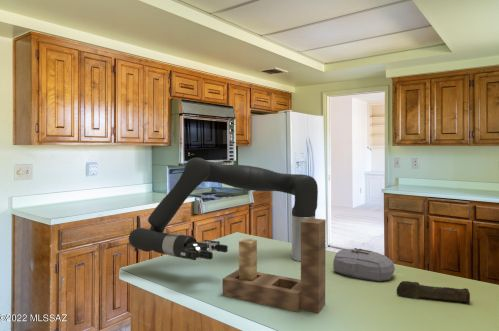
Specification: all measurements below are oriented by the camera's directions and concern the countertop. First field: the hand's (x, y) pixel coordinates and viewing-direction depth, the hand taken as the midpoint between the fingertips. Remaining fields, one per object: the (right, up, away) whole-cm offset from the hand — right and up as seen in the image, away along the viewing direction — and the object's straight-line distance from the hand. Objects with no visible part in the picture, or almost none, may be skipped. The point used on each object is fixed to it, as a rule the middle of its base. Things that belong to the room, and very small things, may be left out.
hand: (219, 252), depth 113 cm
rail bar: (+9, -10, -4) cm, 14 cm away
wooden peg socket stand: (+16, -11, -8) cm, 22 cm away
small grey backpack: (+49, -11, +12) cm, 52 cm away
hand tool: (+62, -12, -10) cm, 64 cm away
